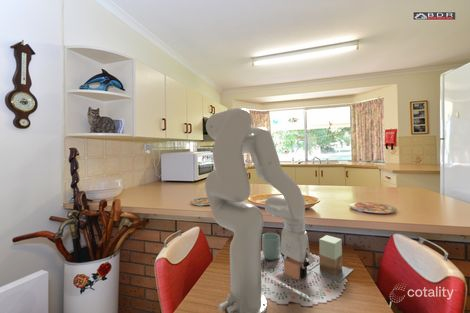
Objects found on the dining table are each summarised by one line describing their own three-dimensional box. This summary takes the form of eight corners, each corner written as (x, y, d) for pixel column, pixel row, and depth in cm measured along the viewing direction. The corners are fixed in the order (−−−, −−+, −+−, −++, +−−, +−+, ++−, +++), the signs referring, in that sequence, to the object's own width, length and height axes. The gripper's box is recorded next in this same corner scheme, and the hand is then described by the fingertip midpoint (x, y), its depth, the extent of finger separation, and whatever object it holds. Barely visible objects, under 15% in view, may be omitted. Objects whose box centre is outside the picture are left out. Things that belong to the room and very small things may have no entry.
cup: (280, 263, 93) (279, 239, 93) (261, 261, 95) (261, 238, 95) (280, 254, 101) (279, 233, 101) (263, 253, 103) (262, 232, 102)
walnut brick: (335, 275, 82) (334, 259, 82) (319, 269, 86) (319, 254, 86) (342, 269, 86) (341, 254, 86) (327, 264, 90) (326, 249, 90)
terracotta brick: (297, 282, 80) (297, 265, 80) (284, 275, 84) (283, 259, 84) (306, 275, 84) (306, 260, 84) (293, 269, 88) (293, 254, 88)
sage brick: (334, 259, 82) (334, 243, 81) (319, 254, 86) (319, 239, 86) (341, 254, 86) (341, 239, 85) (326, 249, 90) (326, 235, 90)
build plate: (339, 284, 77) (339, 281, 77) (308, 271, 86) (308, 268, 86) (353, 272, 85) (353, 269, 85) (323, 261, 94) (323, 258, 94)
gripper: (270, 223, 88) (271, 268, 88) (310, 235, 75) (311, 288, 75) (282, 219, 93) (282, 262, 93) (321, 229, 80) (322, 279, 80)
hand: (295, 273), depth 84 cm, fingers closed on terracotta brick, 6 cm apart
